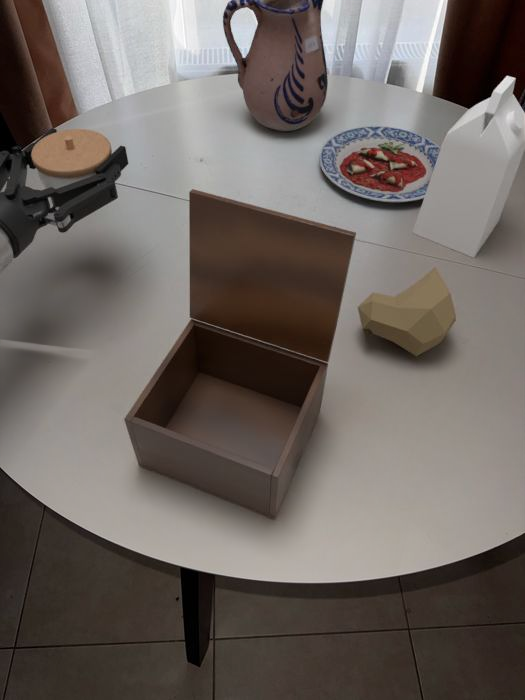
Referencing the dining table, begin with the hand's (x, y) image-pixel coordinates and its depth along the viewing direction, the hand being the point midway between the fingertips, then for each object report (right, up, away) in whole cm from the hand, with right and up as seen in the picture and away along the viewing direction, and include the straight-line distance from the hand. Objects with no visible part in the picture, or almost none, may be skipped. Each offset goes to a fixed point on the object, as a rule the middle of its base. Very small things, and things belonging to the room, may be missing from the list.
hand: (90, 145), depth 83 cm
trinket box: (-2, -7, +2) cm, 7 cm away
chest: (+21, -41, -7) cm, 47 cm away
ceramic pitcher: (+28, +20, +43) cm, 55 cm away
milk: (+60, -7, +21) cm, 64 cm away
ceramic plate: (+49, +6, +32) cm, 59 cm away
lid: (+25, -22, -17) cm, 37 cm away
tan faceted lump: (+46, -27, +4) cm, 53 cm away
